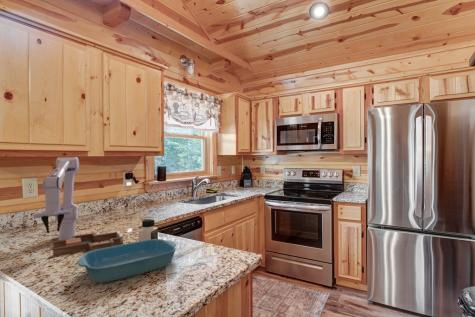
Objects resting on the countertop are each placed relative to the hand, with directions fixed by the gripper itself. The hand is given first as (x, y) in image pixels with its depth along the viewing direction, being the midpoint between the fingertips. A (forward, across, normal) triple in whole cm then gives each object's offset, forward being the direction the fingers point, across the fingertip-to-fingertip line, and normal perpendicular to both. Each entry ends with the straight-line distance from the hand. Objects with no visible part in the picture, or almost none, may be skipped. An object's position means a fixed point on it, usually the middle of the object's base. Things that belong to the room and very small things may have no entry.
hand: (53, 231), depth 120 cm
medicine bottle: (+10, +40, -13) cm, 43 cm away
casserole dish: (+10, +26, -39) cm, 48 cm away
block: (+10, +8, 0) cm, 12 cm away
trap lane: (+9, +14, 0) cm, 17 cm away
